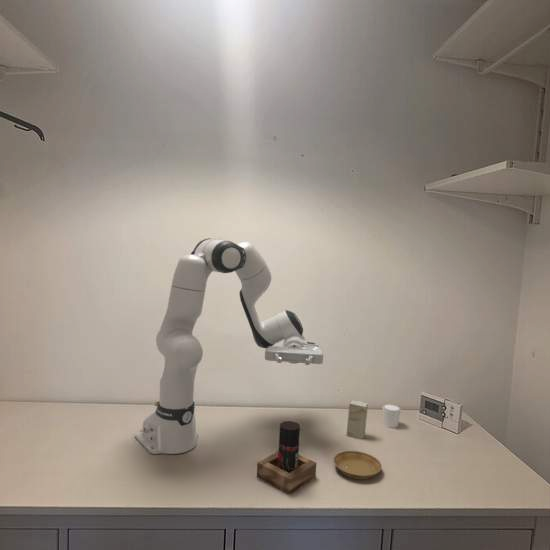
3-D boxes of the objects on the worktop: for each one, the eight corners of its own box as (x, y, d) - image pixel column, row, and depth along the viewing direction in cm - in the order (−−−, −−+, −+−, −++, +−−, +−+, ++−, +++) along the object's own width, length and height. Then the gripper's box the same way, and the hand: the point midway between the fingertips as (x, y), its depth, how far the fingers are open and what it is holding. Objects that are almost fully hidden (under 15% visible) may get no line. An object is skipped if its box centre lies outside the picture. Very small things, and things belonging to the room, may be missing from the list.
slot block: (256, 476, 127) (257, 462, 126) (283, 461, 136) (283, 447, 136) (289, 494, 119) (290, 479, 119) (315, 477, 128) (316, 462, 128)
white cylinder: (401, 424, 169) (402, 406, 169) (396, 430, 164) (397, 412, 163) (384, 419, 173) (385, 402, 172) (378, 425, 167) (380, 407, 167)
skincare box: (346, 435, 157) (348, 403, 156) (349, 430, 161) (351, 399, 160) (363, 439, 154) (365, 406, 153) (365, 434, 159) (368, 402, 157)
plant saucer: (324, 471, 132) (324, 463, 132) (345, 453, 144) (345, 446, 144) (369, 489, 124) (370, 481, 124) (387, 468, 136) (388, 460, 136)
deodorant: (295, 481, 124) (298, 431, 122) (275, 477, 125) (278, 428, 123) (298, 470, 129) (301, 422, 128) (279, 467, 131) (281, 419, 129)
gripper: (266, 340, 157) (262, 350, 143) (322, 343, 155) (324, 354, 142) (265, 357, 157) (261, 368, 144) (321, 361, 156) (323, 372, 142)
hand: (293, 361), depth 143 cm, fingers open, 8 cm apart
